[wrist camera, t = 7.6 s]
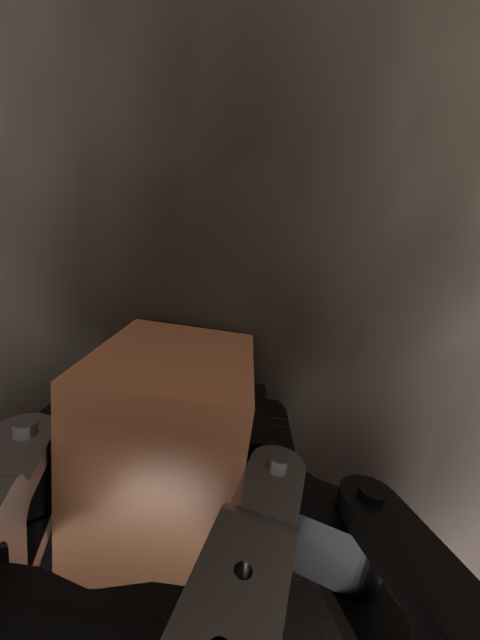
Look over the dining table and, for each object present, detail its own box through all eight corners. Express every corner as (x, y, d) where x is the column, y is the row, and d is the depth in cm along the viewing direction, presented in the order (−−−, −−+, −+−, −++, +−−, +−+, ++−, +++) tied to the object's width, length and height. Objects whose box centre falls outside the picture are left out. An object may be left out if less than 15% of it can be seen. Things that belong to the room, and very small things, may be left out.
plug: (252, 335, 11) (254, 409, 6) (194, 722, 16) (170, 927, 11) (135, 318, 11) (50, 381, 6) (112, 711, 16) (55, 913, 11)
